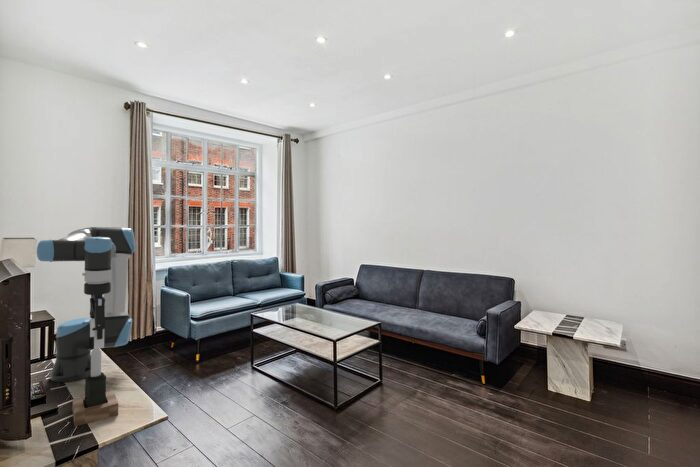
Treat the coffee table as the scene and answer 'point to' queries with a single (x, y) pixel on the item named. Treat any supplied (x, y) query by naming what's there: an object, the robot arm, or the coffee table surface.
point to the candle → (95, 382)
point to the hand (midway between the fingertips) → (96, 342)
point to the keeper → (94, 409)
